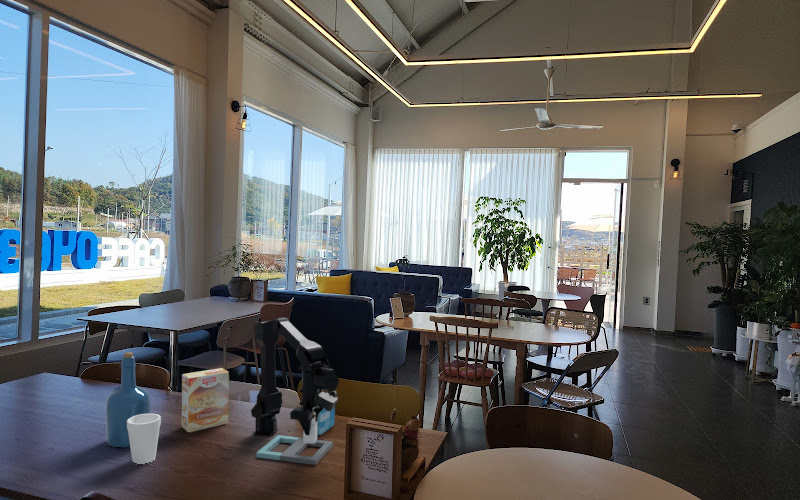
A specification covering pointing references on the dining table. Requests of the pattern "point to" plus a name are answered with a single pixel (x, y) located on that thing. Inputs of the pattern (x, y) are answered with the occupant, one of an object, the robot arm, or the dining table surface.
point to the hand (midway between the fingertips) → (310, 432)
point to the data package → (325, 421)
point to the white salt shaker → (311, 432)
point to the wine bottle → (125, 404)
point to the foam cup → (143, 437)
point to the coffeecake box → (205, 399)
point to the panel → (294, 450)
